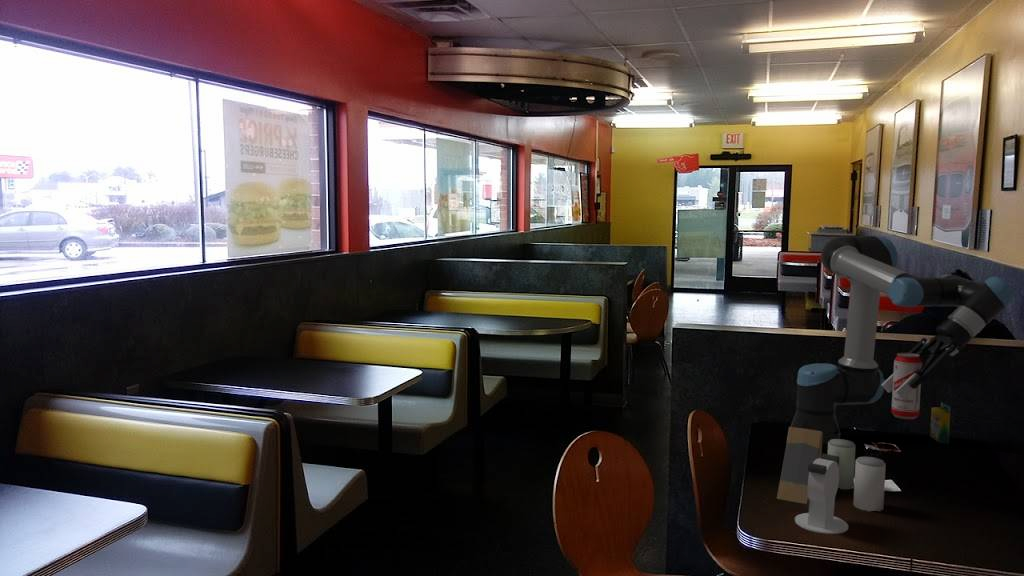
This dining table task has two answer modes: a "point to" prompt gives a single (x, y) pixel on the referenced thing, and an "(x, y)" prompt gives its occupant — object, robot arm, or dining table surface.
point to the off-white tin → (869, 484)
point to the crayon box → (940, 424)
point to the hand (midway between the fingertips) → (892, 391)
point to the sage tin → (844, 461)
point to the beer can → (902, 371)
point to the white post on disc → (822, 497)
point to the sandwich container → (798, 463)
